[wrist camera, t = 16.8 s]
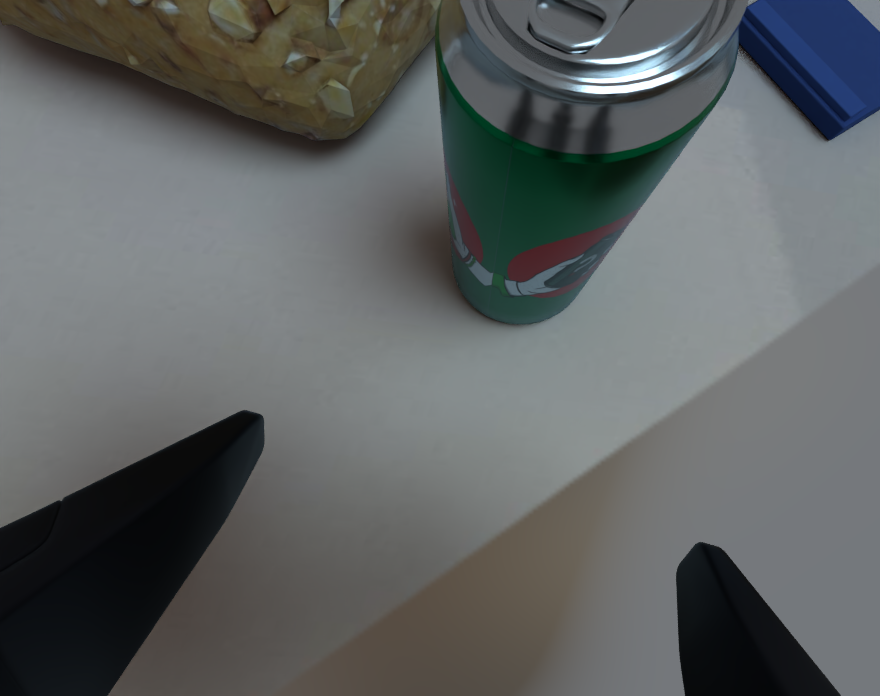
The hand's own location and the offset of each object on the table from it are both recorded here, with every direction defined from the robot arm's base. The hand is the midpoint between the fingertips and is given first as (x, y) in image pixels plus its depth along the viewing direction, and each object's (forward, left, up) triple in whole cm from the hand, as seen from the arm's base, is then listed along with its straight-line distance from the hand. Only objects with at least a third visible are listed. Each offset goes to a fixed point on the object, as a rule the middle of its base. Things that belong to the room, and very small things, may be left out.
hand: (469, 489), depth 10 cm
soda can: (+8, -1, -8) cm, 11 cm away
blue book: (+18, -12, -8) cm, 23 cm away
